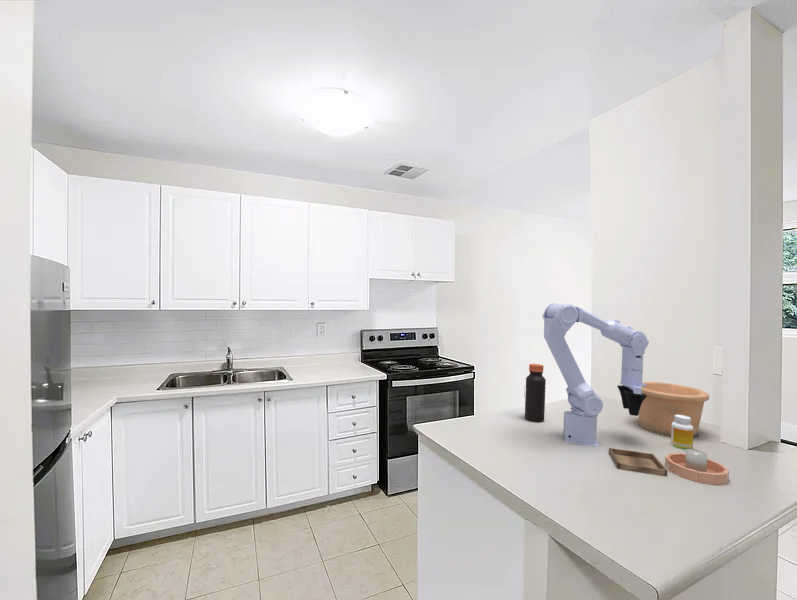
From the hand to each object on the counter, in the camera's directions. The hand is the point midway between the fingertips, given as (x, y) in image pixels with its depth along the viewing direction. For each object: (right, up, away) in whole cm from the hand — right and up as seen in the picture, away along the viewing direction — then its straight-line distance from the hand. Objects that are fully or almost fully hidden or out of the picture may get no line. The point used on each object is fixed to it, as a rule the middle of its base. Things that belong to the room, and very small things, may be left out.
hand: (630, 411), depth 121 cm
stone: (+3, -9, -22) cm, 24 cm away
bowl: (+3, -10, -22) cm, 24 cm away
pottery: (+21, -10, +13) cm, 27 cm away
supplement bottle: (+13, -10, -4) cm, 17 cm away
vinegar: (-23, -9, +19) cm, 32 cm away
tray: (-9, -9, -18) cm, 22 cm away
